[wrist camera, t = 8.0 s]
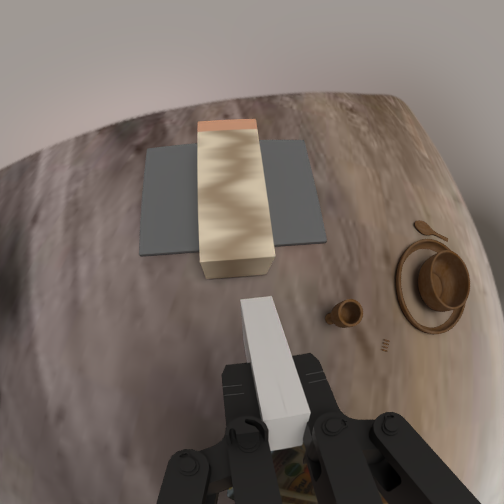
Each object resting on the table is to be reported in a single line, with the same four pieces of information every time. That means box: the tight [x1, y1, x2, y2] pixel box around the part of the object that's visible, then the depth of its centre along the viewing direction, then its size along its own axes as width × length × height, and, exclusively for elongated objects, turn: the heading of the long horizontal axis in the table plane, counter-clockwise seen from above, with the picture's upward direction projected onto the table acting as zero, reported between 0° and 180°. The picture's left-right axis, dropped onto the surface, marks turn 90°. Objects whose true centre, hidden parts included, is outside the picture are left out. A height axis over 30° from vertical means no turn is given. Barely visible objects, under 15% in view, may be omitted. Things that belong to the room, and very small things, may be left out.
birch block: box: [197, 119, 275, 279], centre depth 28 cm, size 6×6×15 cm
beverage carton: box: [227, 443, 388, 504], centre depth 19 cm, size 8×19×7 cm, turn 54°
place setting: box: [325, 221, 470, 352], centre depth 28 cm, size 18×20×6 cm
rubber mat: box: [139, 140, 327, 256], centre depth 32 cm, size 20×14×1 cm
